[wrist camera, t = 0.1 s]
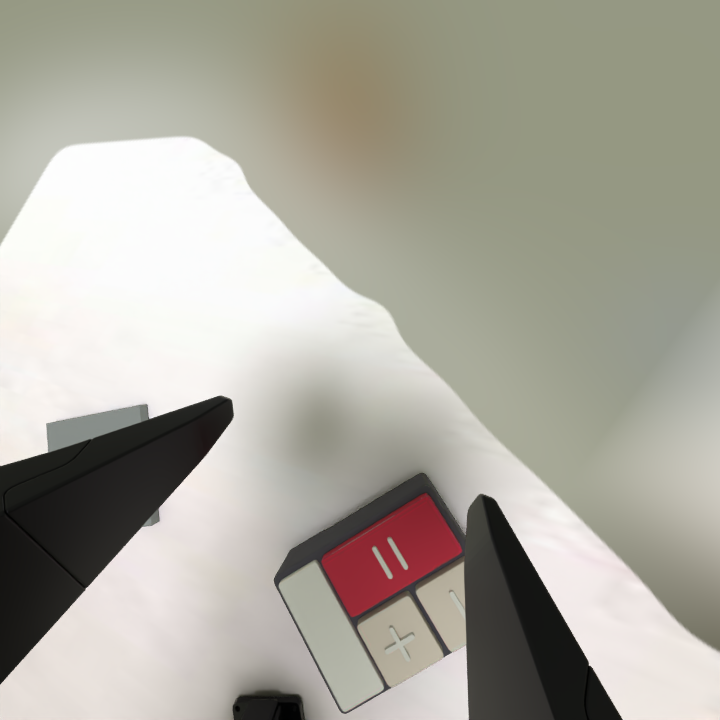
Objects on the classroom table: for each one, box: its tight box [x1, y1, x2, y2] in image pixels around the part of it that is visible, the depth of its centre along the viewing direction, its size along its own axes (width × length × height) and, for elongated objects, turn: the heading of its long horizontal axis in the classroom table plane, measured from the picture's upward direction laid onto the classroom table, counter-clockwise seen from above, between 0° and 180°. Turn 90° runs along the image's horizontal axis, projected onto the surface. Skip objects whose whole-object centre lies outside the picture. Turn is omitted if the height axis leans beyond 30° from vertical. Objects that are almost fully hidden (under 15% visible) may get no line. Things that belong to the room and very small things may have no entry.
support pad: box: [46, 405, 159, 527], centre depth 27 cm, size 12×12×1 cm
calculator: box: [274, 473, 466, 714], centre depth 21 cm, size 11×4×15 cm
